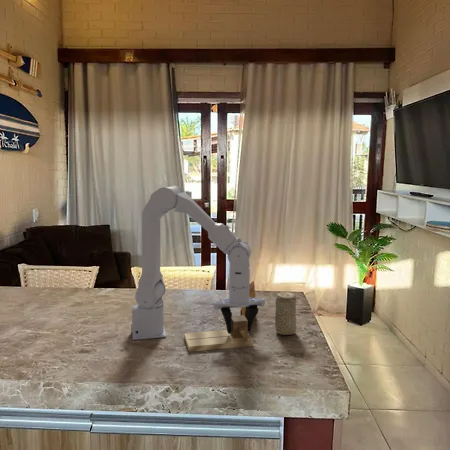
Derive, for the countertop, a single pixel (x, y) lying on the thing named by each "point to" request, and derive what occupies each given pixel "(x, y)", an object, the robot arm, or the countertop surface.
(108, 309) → the countertop surface
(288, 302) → the carving
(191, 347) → the board
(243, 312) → the ammunition clip
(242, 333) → the mallet
